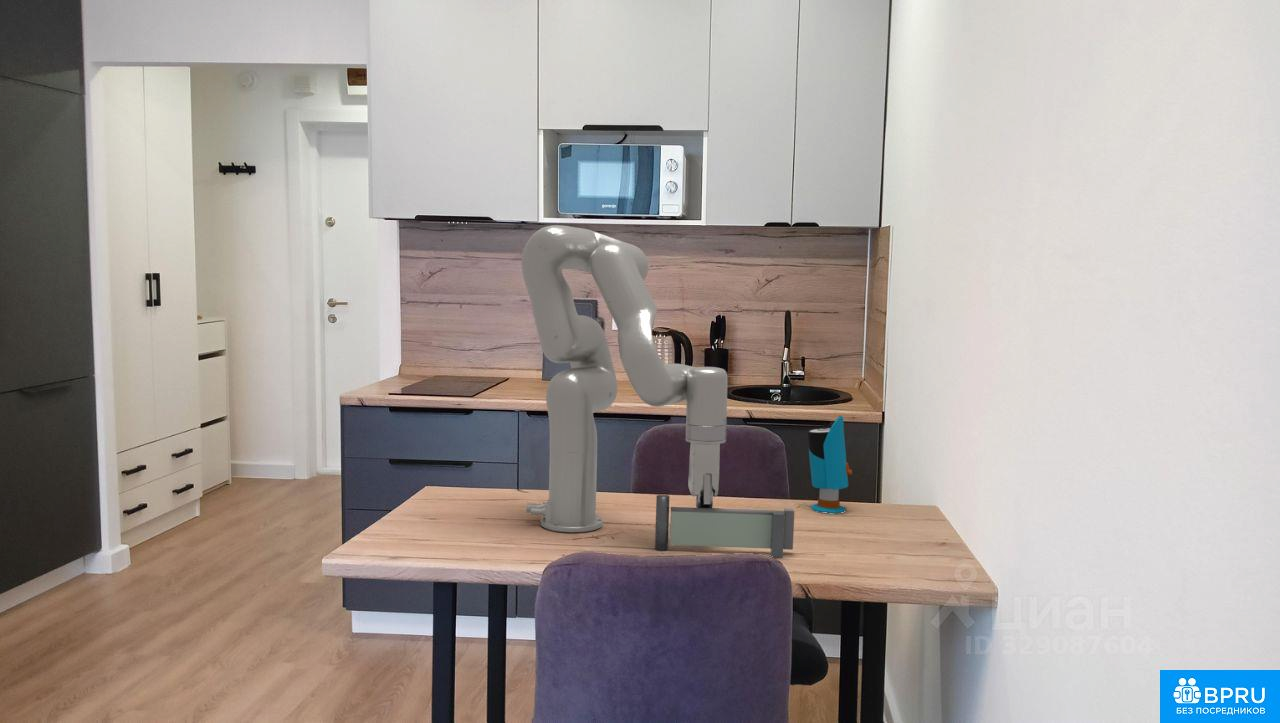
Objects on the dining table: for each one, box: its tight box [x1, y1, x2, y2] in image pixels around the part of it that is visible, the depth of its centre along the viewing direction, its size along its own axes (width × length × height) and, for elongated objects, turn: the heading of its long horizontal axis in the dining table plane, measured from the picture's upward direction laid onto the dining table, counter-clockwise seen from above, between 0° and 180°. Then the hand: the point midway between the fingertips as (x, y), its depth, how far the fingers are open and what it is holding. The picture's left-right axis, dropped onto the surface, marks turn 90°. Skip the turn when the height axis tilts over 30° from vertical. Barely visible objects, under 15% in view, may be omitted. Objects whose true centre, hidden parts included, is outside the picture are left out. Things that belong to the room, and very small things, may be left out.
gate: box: [669, 506, 795, 551], centre depth 171 cm, size 23×2×7 cm, turn 88°
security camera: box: [807, 415, 853, 513], centre depth 205 cm, size 8×21×10 cm
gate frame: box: [654, 494, 785, 559], centre depth 170 cm, size 23×2×10 cm, turn 83°
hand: (703, 529), depth 174 cm, fingers closed
